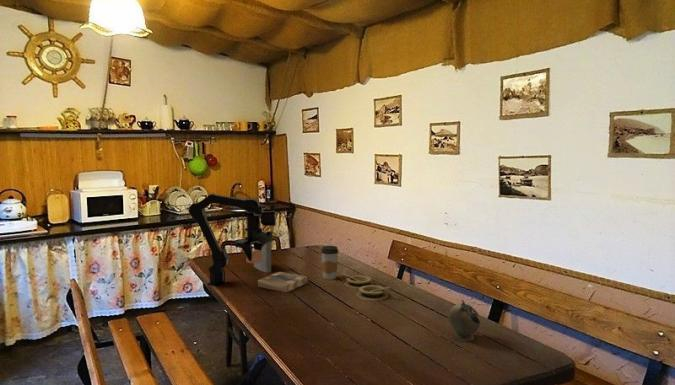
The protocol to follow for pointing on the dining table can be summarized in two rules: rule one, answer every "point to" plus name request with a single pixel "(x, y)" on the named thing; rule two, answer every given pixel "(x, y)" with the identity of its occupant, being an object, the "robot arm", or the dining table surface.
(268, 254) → the hip flask
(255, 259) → the terracotta cube
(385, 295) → the tableware set
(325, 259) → the coffee cup
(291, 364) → the dining table surface
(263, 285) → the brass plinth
